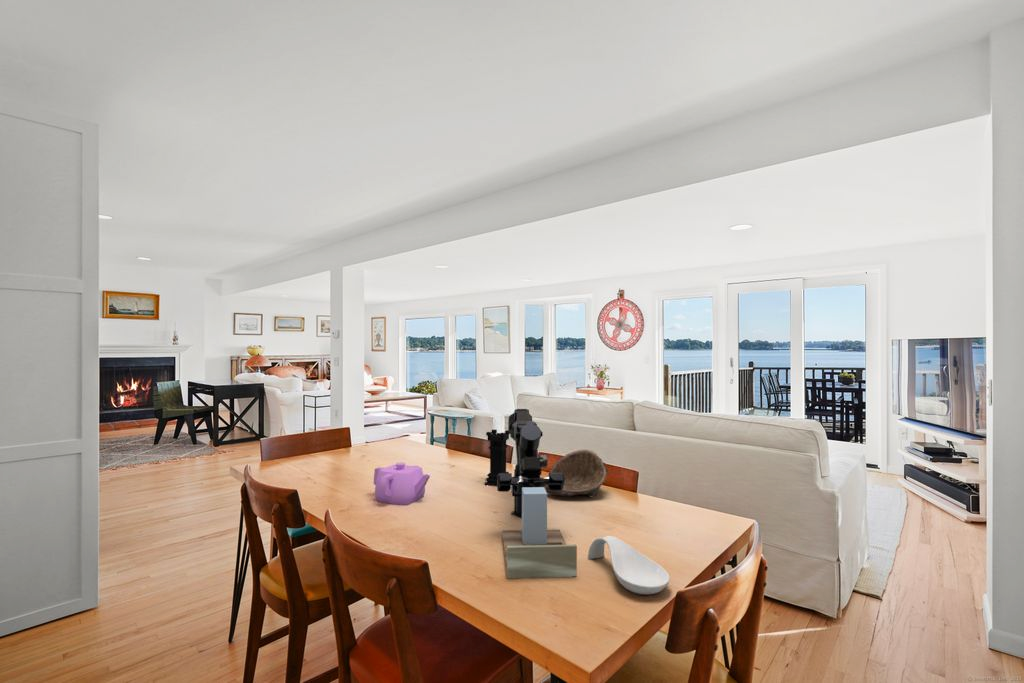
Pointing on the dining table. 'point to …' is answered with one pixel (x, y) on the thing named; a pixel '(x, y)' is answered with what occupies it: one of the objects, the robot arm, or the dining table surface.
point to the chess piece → (497, 455)
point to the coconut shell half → (579, 473)
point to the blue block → (534, 515)
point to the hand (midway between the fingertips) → (532, 510)
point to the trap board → (539, 556)
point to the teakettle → (399, 484)
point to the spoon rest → (631, 566)
